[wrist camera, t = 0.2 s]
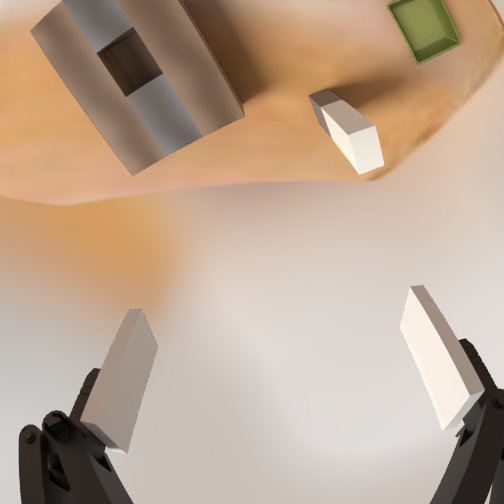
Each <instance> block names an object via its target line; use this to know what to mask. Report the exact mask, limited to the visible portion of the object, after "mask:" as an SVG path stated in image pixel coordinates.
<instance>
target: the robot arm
mask: <svg viewBox="0 0 504 504" xmlns="http://www.w3.org/2000/svg"><path fill="white" fill-rule="evenodd" d="M400 329H401V331H402V333H403V336H404V337H405V340H406V342H407V344H408V346H409V348H410V351H411V353H412V355H413V358H414V360H415V362H416V365H417V367H418V369H419V371H420V374H421V376H422V379H423V381H424V383H425V386H426V388H427V391H428V393H429V396H430V398H431V401H432V403H433V406H434V409H435V411H436V414H437V417H438V420H439V422H440V425H441V428H442V430H443V431H445V430H448V429H450V428H453V427H456V426H457V425H458V424H459V423H460V422H461V421H462V419H463V421H464V423H465V425H464V426H463V427H462V428H461V430H460V431H459V432H458V433H457V435H456V436H455V437H458V436H459V435H460V437H459V439H458V443H457V445H456V448H455V450H454V453H453V455H452V458H451V460H450V462H449V465H448V467H447V469H446V472H445V474H444V476H443V478H442V480H441V483H440V484H439V487H438V489H437V491H436V493H435V495H434V497H433V498H432V501H431V502H430V504H484V503H485V501H486V498H487V496H488V493H489V490H490V488H491V485H492V490H491V496H490V502H489V504H504V390H503V389H498V388H497V386H496V385H495V383H494V381H493V379H492V377H491V375H490V374H489V372H488V370H487V368H486V366H485V364H484V363H483V362H482V359H481V358H480V356H478V352H477V351H476V349H475V347H474V346H473V345H472V344H471V343H470V342H469V341H468V340H467V339H461V340H458V339H457V338H456V336H455V334H454V333H453V331H452V329H451V328H450V326H449V324H448V323H447V321H446V319H445V318H444V316H443V315H442V313H441V312H440V310H439V309H438V307H437V305H436V304H435V303H434V301H433V299H432V298H431V296H430V295H429V293H428V292H427V290H426V289H425V288H424V286H423V285H419V286H412V287H410V289H409V293H408V297H407V301H406V306H405V309H404V313H403V317H402V321H401V325H400ZM157 349H158V345H157V343H156V341H155V338H154V336H153V334H152V332H151V329H150V327H149V325H148V322H147V320H146V317H145V315H144V312H143V310H142V309H129V310H128V312H127V314H126V316H125V318H124V320H123V322H122V324H121V326H120V328H119V330H118V332H117V334H116V337H115V339H114V341H113V343H112V345H111V347H110V350H109V352H108V354H107V356H106V359H105V361H104V363H103V365H102V367H101V369H97V368H94V369H93V370H92V371H91V372H90V373H89V374H88V375H87V377H86V379H85V381H84V383H83V387H82V388H81V390H80V394H79V395H78V397H77V399H76V402H75V404H74V407H73V409H72V411H71V414H70V416H69V417H68V416H66V414H65V413H63V412H62V411H57V410H55V411H52V412H50V413H49V414H47V415H46V417H45V418H44V420H43V423H42V429H43V430H42V431H41V430H40V429H39V428H38V427H36V426H35V425H27V426H25V427H24V428H23V429H22V430H21V432H20V435H19V478H20V493H21V503H22V504H133V502H132V500H131V498H130V497H129V495H128V493H127V492H126V490H125V488H124V486H123V485H122V483H121V481H120V479H119V477H118V475H117V474H116V472H115V470H114V468H113V466H112V464H111V462H110V460H109V458H108V456H107V454H106V453H105V452H104V451H105V447H106V446H107V447H108V448H109V449H110V450H111V451H113V452H118V453H123V454H127V452H128V449H129V445H130V441H131V437H132V434H133V430H134V426H135V423H136V419H137V415H138V412H139V408H140V405H141V401H142V398H143V394H144V391H145V388H146V385H147V381H148V378H149V375H150V371H151V368H152V365H153V362H154V359H155V355H156V352H157ZM492 482H493V483H492Z"/></svg>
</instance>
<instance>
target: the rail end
mask: <svg viewBox="0 0 504 504" xmlns="http://www.w3.org/2000/svg"><path fill="white" fill-rule="evenodd" d="M309 98H310V100H311V103H312V105H313V108H314V110H315V113H316V116H317V118H318V121H319V123H320V125H321V126H322V127H323V129H324V130H325V131H326V132H327V133H328V135H329V136H330V137H331V138H332V140H333V141H334V142H335V143H336V145H337V146H338V147H339V148H340V150H341V151H342V152H343V153H344V155H345V156H346V157H347V159H348V160H349V161H350V163H351V164H352V165H353V167H354V168H355V169H356V171H357V172H358V173H359V175H360V174H362V173H365V172H368V171H370V170H373V169H375V168H378V167H381V166H383V165H384V162H383V157H382V152H381V148H380V144H379V139H378V135H377V131H376V127H375V125H374V124H373V123H371V122H370V121H369V120H368V119H367V118H365V117H364V116H363V115H362V114H360V113H359V112H358V111H357V110H355V109H354V108H353V107H352V106H350V105H349V104H348V103H346V102H345V101H344V100H342V99H341V98H340V97H338V96H337V95H336V94H334V93H333V92H332V91H330V90H329V89H326V90H323V91H320V92H317V93H315V94H312V95H309Z"/></svg>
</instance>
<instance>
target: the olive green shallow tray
mask: <svg viewBox="0 0 504 504" xmlns="http://www.w3.org/2000/svg"><path fill="white" fill-rule="evenodd" d="M387 9H388V10H389V12H390V14H391V15H392V17H393V19H394V21H395V22H396V24H397V26H398V28H399V30H400V32H401V33H402V35H403V37H404V39H405V41H406V43H407V45H408V47H409V49H410V51H411V53H412V56H413V58H414V60H415V62H416V64H418V65H420V64H422V63H424V62H426V61H428V60H430V59H432V58H434V57H436V56H438V55H440V54H442V53H444V52H446V51H448V50H450V49H452V48H454V47H456V46H458V45H460V43H461V41H460V38H459V35H458V33H457V31H456V28H455V26H454V24H453V21H452V19H451V17H450V15H449V13H448V11H447V8H446V6H445V4H444V2H443V0H395V1H393V2H390V3H388V4H387Z"/></svg>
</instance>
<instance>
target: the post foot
mask: <svg viewBox="0 0 504 504" xmlns="http://www.w3.org/2000/svg"><path fill="white" fill-rule="evenodd" d="M30 32H31V33H32V35H33V37H34V38H35V40H36V41H37V43H38V44H39V46H40V48H41V49H42V51H43V52H44V54H45V55H46V57H47V58H48V60H49V61H50V63H51V64H52V66H53V67H54V69H55V70H56V72H57V73H58V75H59V76H60V78H61V79H62V81H63V82H64V83H65V85H66V86H67V88H68V89H69V91H70V92H71V94H72V95H73V96H74V98H75V99H76V101H77V102H78V103H79V105H80V106H81V108H82V109H83V111H84V112H85V113H86V115H87V116H88V117H89V119H90V120H91V122H92V123H93V124H94V126H95V127H96V129H97V130H98V131H99V133H100V134H101V135H102V137H103V138H104V139H105V141H106V142H107V143H108V145H109V146H110V147H111V149H112V150H113V151H114V153H115V154H116V155H117V157H118V158H119V159H120V161H121V162H122V163H123V165H124V166H125V167H126V169H127V170H128V171H129V173H130V174H131V175H132V176H134V175H136V174H137V173H139V172H141V171H142V170H144V169H146V168H147V167H149V166H151V165H152V164H154V163H156V162H158V161H159V160H161V159H163V158H165V157H166V156H168V155H170V154H172V153H173V152H175V151H177V150H179V149H181V148H183V147H184V146H186V145H188V144H190V143H192V142H194V141H196V140H198V139H200V138H202V137H204V136H206V135H208V134H210V133H212V132H214V131H216V130H218V129H220V128H222V127H224V126H226V125H228V124H230V123H232V122H234V121H237V120H239V119H241V118H243V117H245V115H244V110H243V105H242V103H241V101H240V99H239V97H238V95H237V93H236V91H235V89H234V88H233V86H232V84H231V82H230V80H229V79H228V77H227V75H226V73H225V71H224V70H223V68H222V66H221V64H220V62H219V61H218V59H217V57H216V55H215V54H214V52H213V50H212V48H211V47H210V45H209V43H208V42H207V40H206V38H205V36H204V35H203V33H202V31H201V30H200V28H199V26H198V25H197V23H196V21H195V20H194V18H193V16H192V15H191V13H190V11H189V10H188V8H187V7H186V5H185V3H184V2H183V0H62V1H61V2H60V3H59V4H58V5H57V6H55V7H54V8H53V9H52V10H51V11H50V12H49V13H48V14H47V15H46V16H45V17H44V18H43V19H42V20H41V21H40V22H39V23H38V24H37V25H36V26H35V27H34V28H33V29H32V30H31V31H30Z"/></svg>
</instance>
